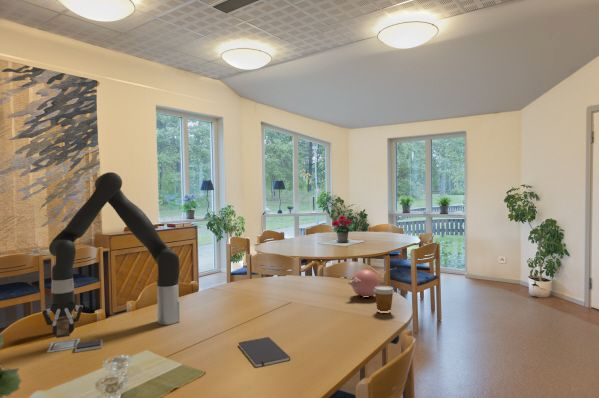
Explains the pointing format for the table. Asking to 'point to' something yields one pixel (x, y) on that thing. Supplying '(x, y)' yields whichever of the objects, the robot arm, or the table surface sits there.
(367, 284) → the pink rounded piece
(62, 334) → the stamp
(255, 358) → the notebook
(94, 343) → the inkpad
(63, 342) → the card
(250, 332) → the table surface
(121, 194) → the robot arm
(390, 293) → the disposable coffee cup
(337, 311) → the table surface
